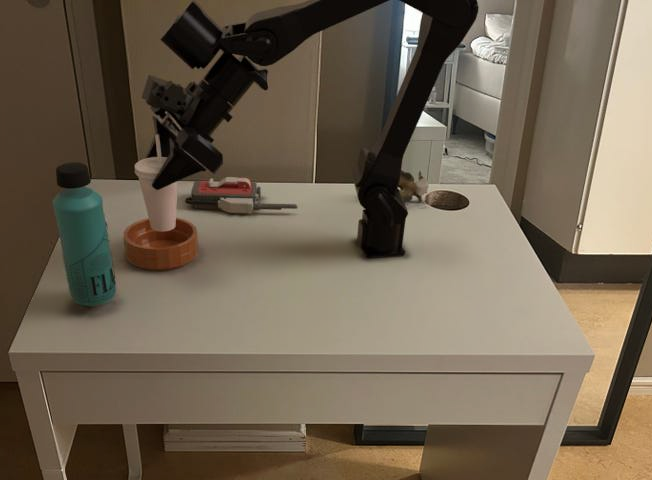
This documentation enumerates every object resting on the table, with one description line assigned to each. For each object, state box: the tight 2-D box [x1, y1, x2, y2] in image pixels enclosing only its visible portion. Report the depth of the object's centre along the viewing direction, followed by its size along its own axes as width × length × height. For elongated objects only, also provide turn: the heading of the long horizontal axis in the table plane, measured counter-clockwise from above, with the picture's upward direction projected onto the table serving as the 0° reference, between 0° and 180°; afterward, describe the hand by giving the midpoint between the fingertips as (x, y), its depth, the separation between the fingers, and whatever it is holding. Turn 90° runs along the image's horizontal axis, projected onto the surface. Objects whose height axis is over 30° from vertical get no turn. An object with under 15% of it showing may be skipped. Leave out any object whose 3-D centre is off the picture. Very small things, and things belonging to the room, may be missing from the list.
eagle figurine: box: [398, 169, 430, 204], centre depth 126 cm, size 8×7×9 cm
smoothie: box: [134, 133, 178, 232], centre depth 102 cm, size 6×6×14 cm
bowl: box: [123, 217, 199, 271], centre depth 109 cm, size 11×11×4 cm
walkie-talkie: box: [184, 176, 298, 214], centre depth 125 cm, size 9×4×20 cm
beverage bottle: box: [52, 161, 117, 307], centre depth 93 cm, size 6×7×20 cm
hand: (148, 179), depth 101 cm, fingers closed on smoothie, 6 cm apart
